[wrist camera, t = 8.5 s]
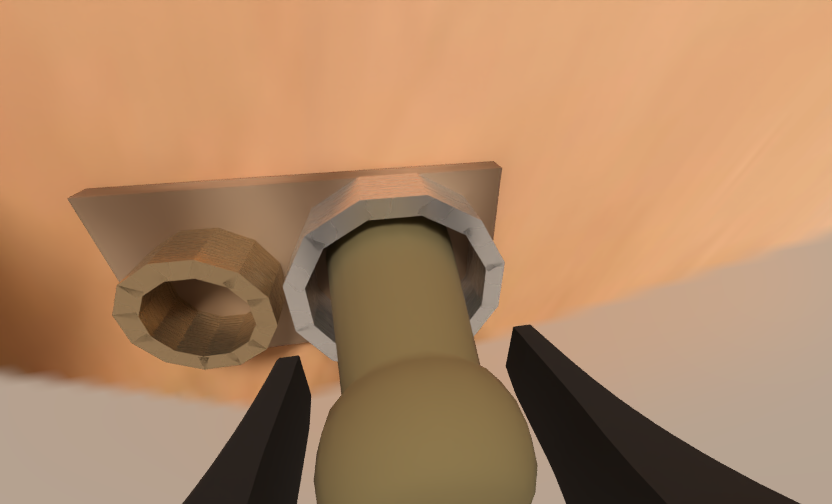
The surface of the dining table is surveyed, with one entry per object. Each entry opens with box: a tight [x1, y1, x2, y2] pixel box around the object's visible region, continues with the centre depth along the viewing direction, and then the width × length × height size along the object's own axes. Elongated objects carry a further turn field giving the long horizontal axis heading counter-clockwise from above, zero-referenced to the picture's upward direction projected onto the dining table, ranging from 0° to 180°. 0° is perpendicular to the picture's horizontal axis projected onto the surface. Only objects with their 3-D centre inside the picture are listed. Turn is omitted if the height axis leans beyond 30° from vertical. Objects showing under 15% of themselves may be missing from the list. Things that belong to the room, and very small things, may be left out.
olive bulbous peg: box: [314, 216, 537, 504], centre depth 11 cm, size 6×6×11 cm
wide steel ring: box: [283, 173, 505, 362], centre depth 15 cm, size 9×9×2 cm
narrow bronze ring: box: [112, 228, 286, 369], centre depth 14 cm, size 6×6×2 cm
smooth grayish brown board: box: [67, 161, 502, 347], centre depth 16 cm, size 17×9×1 cm, turn 92°
